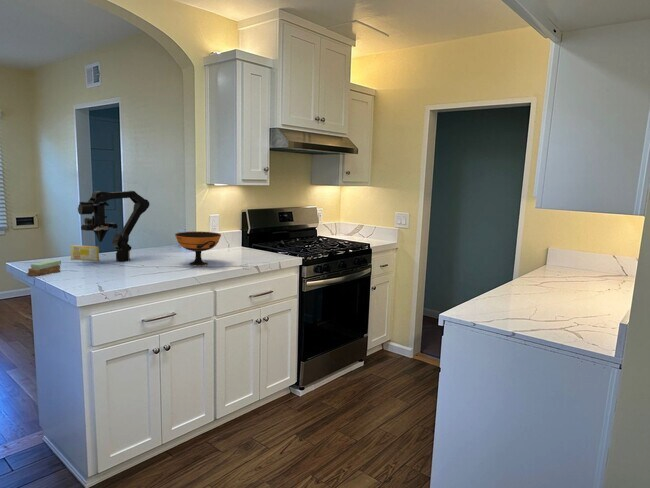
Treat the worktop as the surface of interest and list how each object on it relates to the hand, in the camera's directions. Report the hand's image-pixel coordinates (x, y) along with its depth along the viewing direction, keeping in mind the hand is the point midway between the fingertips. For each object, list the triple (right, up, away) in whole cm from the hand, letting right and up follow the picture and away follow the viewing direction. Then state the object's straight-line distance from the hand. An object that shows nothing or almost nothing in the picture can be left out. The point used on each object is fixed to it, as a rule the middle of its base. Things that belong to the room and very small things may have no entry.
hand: (100, 241), depth 252 cm
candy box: (-13, -11, +8) cm, 19 cm away
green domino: (-12, -10, -21) cm, 26 cm away
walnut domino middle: (-11, -13, -23) cm, 28 cm away
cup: (+52, -13, +10) cm, 54 cm away
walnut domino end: (-11, -15, -23) cm, 29 cm away
